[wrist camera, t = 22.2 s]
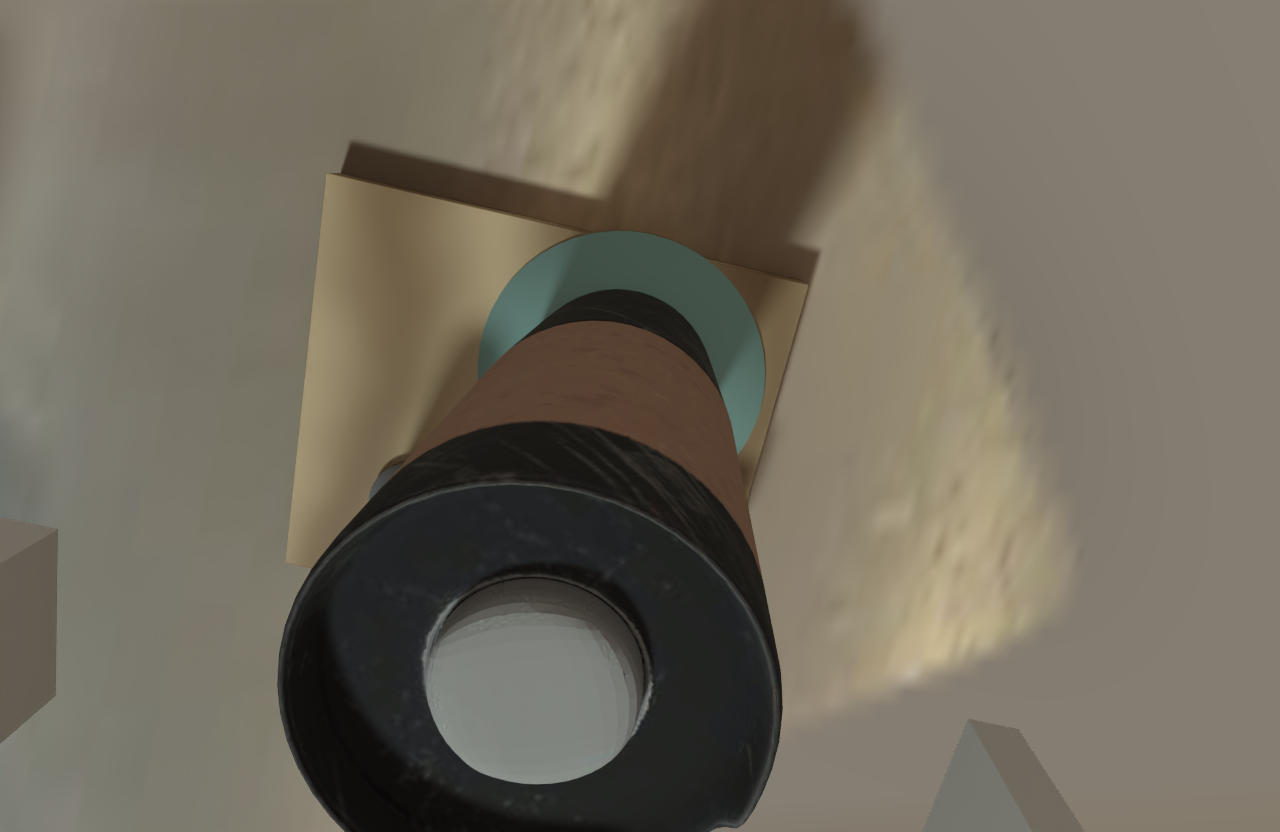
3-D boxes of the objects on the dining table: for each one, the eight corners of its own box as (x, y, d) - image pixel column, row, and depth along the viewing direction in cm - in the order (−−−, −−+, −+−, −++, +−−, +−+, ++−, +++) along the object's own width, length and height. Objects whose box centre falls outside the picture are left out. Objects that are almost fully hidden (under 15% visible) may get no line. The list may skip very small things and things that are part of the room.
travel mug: (526, 269, 30) (258, 435, 11) (731, 293, 30) (837, 503, 10) (512, 462, 32) (270, 891, 13) (704, 485, 32) (750, 950, 13)
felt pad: (458, 476, 32) (457, 477, 32) (505, 200, 29) (504, 200, 29) (724, 535, 33) (724, 537, 32) (798, 268, 30) (799, 269, 29)
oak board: (298, 549, 35) (189, 658, 27) (339, 173, 30) (223, 171, 22) (702, 638, 35) (711, 770, 27) (803, 281, 31) (848, 316, 23)
